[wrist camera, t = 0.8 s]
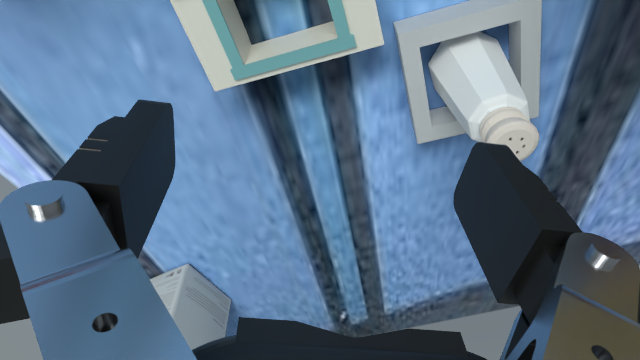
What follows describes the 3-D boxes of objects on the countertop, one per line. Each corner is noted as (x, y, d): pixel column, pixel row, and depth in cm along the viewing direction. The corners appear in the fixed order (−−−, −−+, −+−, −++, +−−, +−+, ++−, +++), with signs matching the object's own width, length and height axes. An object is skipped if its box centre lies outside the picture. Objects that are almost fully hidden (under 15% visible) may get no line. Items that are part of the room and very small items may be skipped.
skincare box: (146, 277, 48) (85, 424, 36) (191, 259, 46) (142, 409, 34) (194, 315, 53) (154, 457, 41) (237, 300, 51) (208, 445, 39)
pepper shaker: (510, 27, 30) (583, 102, 22) (490, 96, 33) (547, 185, 25) (433, 26, 30) (475, 100, 22) (421, 95, 34) (454, 183, 25)
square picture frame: (527, -17, 28) (542, -6, 26) (526, 100, 34) (538, 116, 32) (393, 22, 30) (397, 34, 28) (412, 127, 35) (417, 144, 33)
